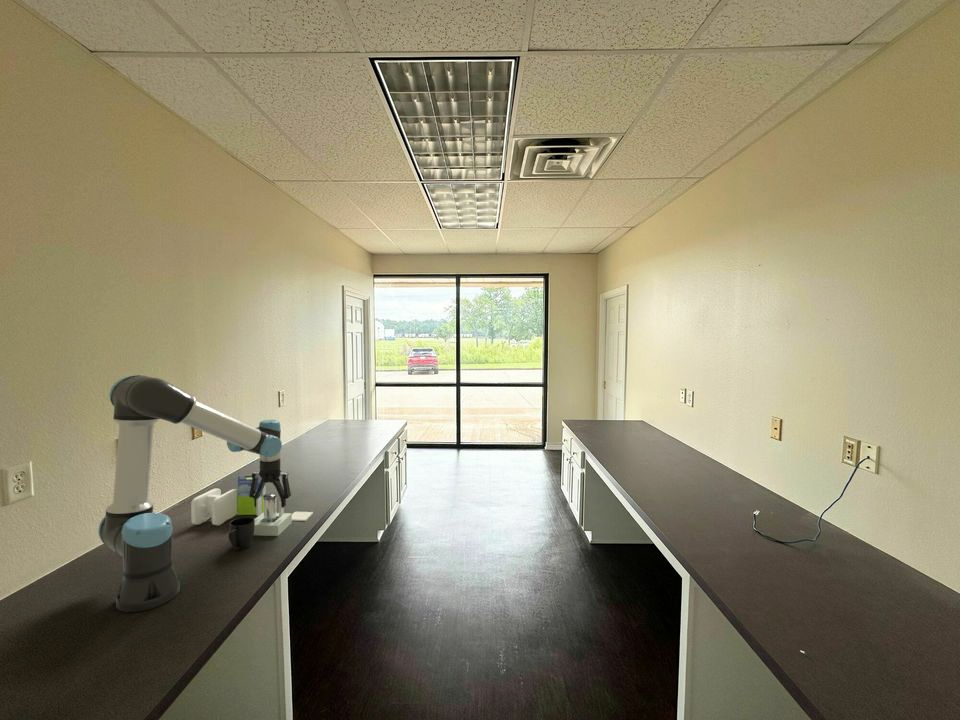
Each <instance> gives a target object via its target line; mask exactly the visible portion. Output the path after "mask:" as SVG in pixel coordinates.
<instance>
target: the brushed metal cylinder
mask: <svg viewBox="0 0 960 720" xmlns="http://www.w3.org/2000/svg"><path fill="white" fill-rule="evenodd" d="M277 497H278V493H276V492H269V493H266V494H265V495H263V498H264V522H275V521H276V520H277V513H278V512H277V509H278V508H277V504H278V503H277V499H278V498H277Z"/></svg>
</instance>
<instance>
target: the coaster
mask: <svg viewBox="0 0 960 720" xmlns="http://www.w3.org/2000/svg"><path fill="white" fill-rule="evenodd" d="M313 514H314V512H313V511H294V512H293V513H292V522H307V520H309V518H310V517H312V516H313Z"/></svg>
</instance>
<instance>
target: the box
mask: <svg viewBox="0 0 960 720" xmlns="http://www.w3.org/2000/svg"><path fill="white" fill-rule="evenodd" d="M261 480H262V478H261V477H260V475H259V477H258V483H257V488H256V491H257V489H258V487H259V485H260V482H261ZM251 484H252V475H237V490H238V512H237V516H251V515H255V516H256V507H255V506H254V498H252V497H251V498H250V497H249V494H250V489H251ZM266 485H267V483H266V484H265V486H264V488H263V490H262V492H261V494H260V497H262V513H264V498H263V495H265V494H267V492H266V491H267V490H266V489H267V488H266ZM255 494H256V493H255ZM262 513H261V514H262ZM261 514H260V515H261Z"/></svg>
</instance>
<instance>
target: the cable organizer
mask: <svg viewBox="0 0 960 720" xmlns="http://www.w3.org/2000/svg"><path fill="white" fill-rule="evenodd" d="M190 505H191V508H190V510H191V511H190V512H191V513H190V514H191V524H192V525H195V526H196V525H202V524H203V523H205V522H207V521H208V520H209V519H211V523H212V525H213V526H221V525H222V524H224V523H225V522H226V521H228V520H230V519H232V518H234V517H235V516H236V515H238V488H237V489H236V488H233V489H230V490H228V491H226V492H224V493H223V494H222V492H221V489H220V488H213V489H210V490H208V491H206V492H204V493H202V494H200V495H197V496H196V497H194V498H193V499H192V500H191V502H190Z"/></svg>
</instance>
